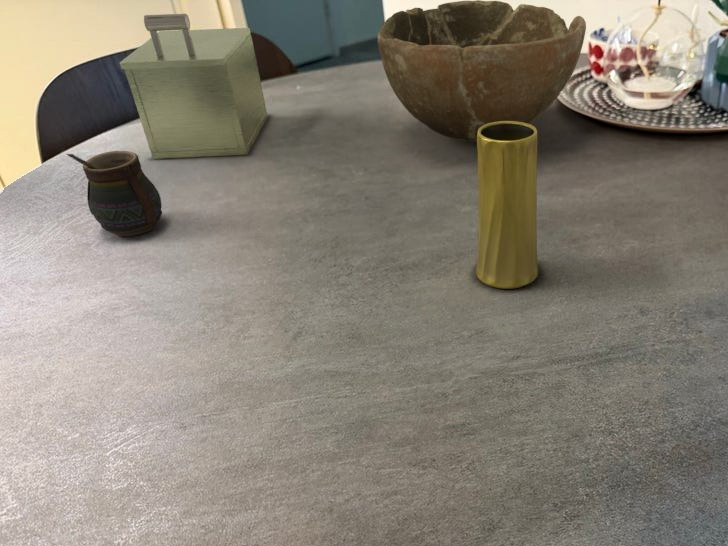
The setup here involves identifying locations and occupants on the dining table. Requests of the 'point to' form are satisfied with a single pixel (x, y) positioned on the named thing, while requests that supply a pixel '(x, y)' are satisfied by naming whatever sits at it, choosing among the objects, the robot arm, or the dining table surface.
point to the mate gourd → (121, 193)
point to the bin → (201, 106)
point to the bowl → (478, 63)
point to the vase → (507, 204)
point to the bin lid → (183, 44)
